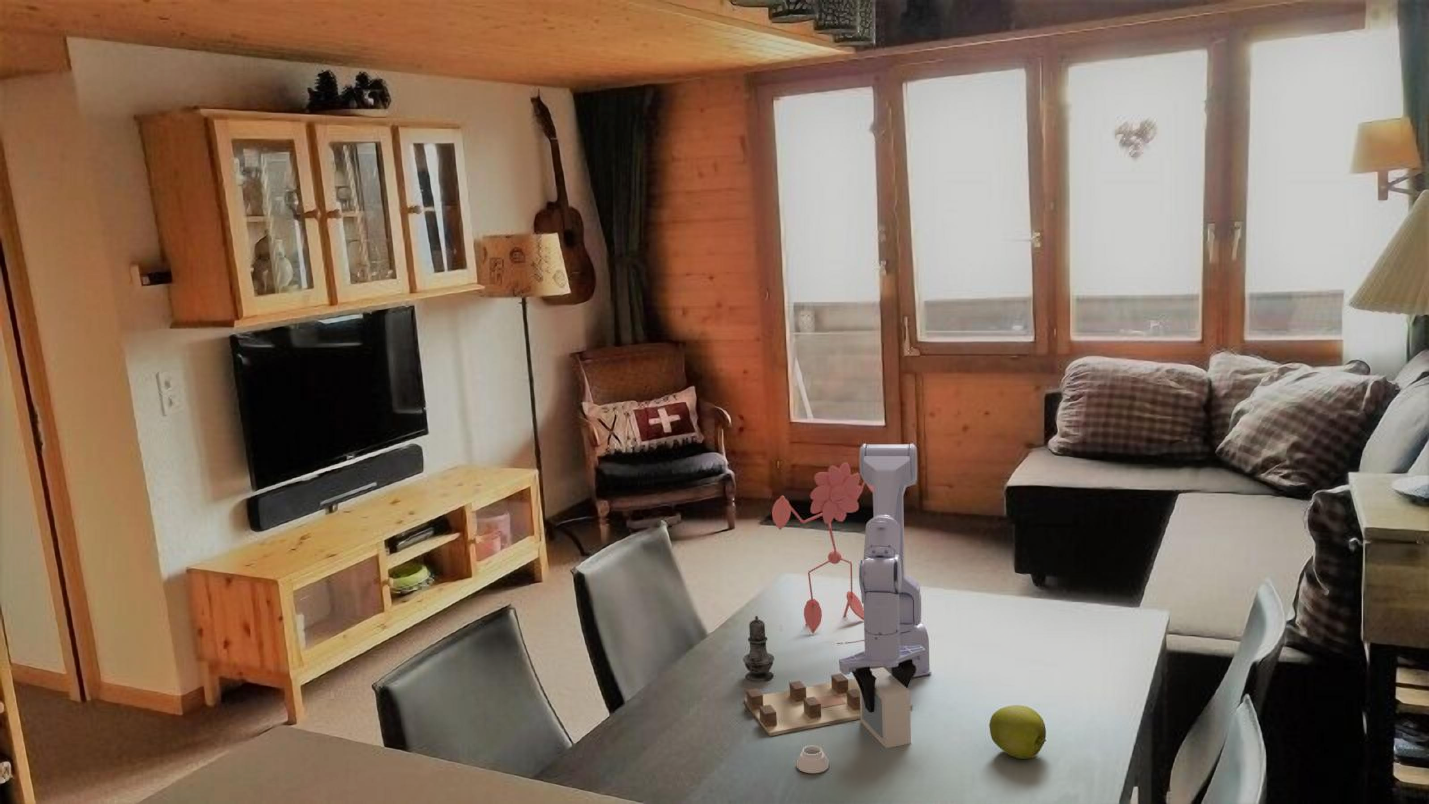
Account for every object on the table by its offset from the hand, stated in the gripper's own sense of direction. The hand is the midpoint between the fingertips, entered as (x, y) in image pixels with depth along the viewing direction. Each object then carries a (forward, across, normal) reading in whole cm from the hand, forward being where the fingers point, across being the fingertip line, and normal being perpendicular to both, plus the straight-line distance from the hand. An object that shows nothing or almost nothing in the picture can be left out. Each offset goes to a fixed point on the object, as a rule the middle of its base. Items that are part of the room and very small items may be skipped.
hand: (884, 707), depth 180 cm
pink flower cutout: (+5, +11, +44) cm, 46 cm away
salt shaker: (+5, -12, +29) cm, 32 cm away
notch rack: (+4, -5, +13) cm, 15 cm away
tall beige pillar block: (+4, 0, 0) cm, 4 cm away
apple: (+5, +16, -15) cm, 22 cm away
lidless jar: (+5, -15, -6) cm, 17 cm away
